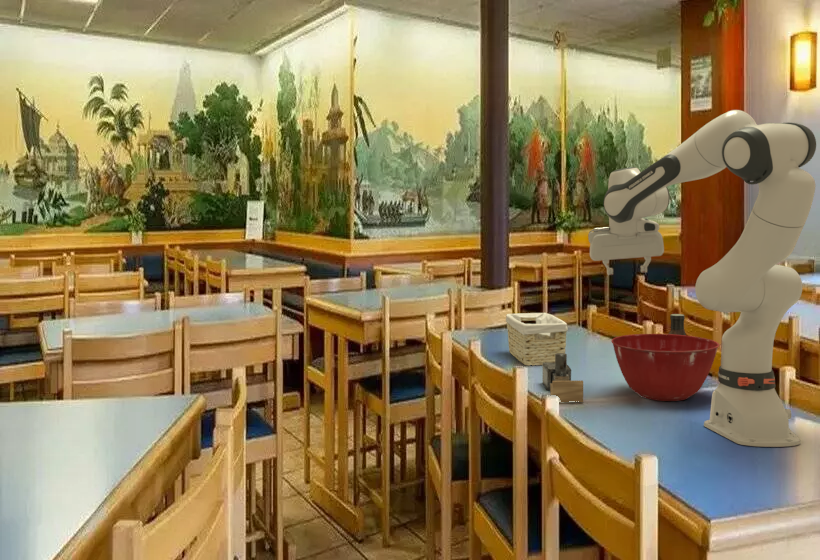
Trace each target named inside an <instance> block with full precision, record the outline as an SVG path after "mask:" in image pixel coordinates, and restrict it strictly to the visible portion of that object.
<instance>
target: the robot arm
mask: <svg viewBox="0 0 820 560" xmlns="http://www.w3.org/2000/svg"><path fill="white" fill-rule="evenodd" d="M816 150H817V139H816V137H815V134H814V132H813V131H812V129H810V128H809V127H807V126H806V125H803V124H800V123H797V122H796V123H795V122H776V123H772V122H771V123H770V122H768V123H762V124H761V123H760V124H757V123H756V120H755V119H754V118H753V117H752V116H751V114H749V113H747V112H746V111H744V110H741V109H731V110H728V111H727V112H725V113H723V114H720V115H719V116H717V117H715V118H713V119H711V121H709V122H707V123H705V125H703V126H702V127H700V128H699V129H698V130H697V131H696V132H694V133H693V134H692V135H691V136H689V137H688V138H687V139H686V140H684V141H683V142H682V143H681V144H679V145H678V146H677V147H675V148H674V149H672V150H671V151H670V152H668V153H667V154H665V155H664V156H663V157H661V158H660V159H658V160H657V161H655V162H653V163H651V165H649V166H648V167H646V168H645V169H644V170H642V171H640V169H639V168H638V167H635V166H629V167H624V168H617V169H616V170H613V171H612V172H610V174H609V178H608V184H607V185H608V186H607V188H608V189H607V191H606V193H605V194H604V196H603V197H604V198H603V210H604V212H605V213H606V215H607V217H608V224H609V225H608V226H603V227H594V228H593V229H591V230H589V232H588V236H587V237H588V238H587V239H588V242H589V257H590V259H591V260H592V261H594V262H596V261H598V262H599V261H602V264H603V265H604V266H605V268H606V274H607V276H613V275H614V268H613V267H609V265H608V264H609V263H610V260H624V259H637V258H638V259H639V258H644V260H645V261H644V262H643V264H641V265H640V273H648V267H649V264H650V263H651V261H652V257H661V256H663V254H664V253H665V246H664V238H663V235H662V233H661V232H660V231H659V230H660V224H659V223H658V222H656V221H654V220H652V219H647V217H652V216H658V215H660V214H662V213H664V212H665V211H666V210H667V209H668V207H669V206H670V199H671V196H670V191H669V189H668V187H669V186H670V187H671V186H673V185H677V184H682V183H685V182H692V181H693V182H694V181H697V180H701V179H706V178H709V177H711V176H714V175H715V174H718V173H719V172H721V171H723V170H725V169H726V168H727V169H728V170H729V171H730V172H731V173H732V174H734V175H735V176H737V177H739V178H741V179H742V180H743V181H744V182H745V184H748V185H758V189H759V190H758V194H757V197H756V199H755V202H754V204H753V207H752V210H751V212H750V214H749V216H748V220H747V221H746V224H745V226H744V229H742V230H743V231H742V233H741V235H740V237H739V238H738V240H737V241H736V243H735V244H734V245H733V246H732V248H730V250H729V251H728V252H727V253H725V255H724V256H723V257H722V258H721V259H720V260H718V262H717V263H715V264H714V265H712V266H710V267H708V268H706V269H705V270H703V271H702V272H701V273H700V274H699V276H698V277H697V279H696V281H695V282H696V283H695V285H694V286H695V288H694V290H695V296H696V298H697V301H698V302H699V304H700V305H701V306H702V308H704V309H706V310H708V311H713V312H714V311H715V312H721V313H738V312H740V315H739V317H738V319H737V320H736V322H735V323H734V324H733V325H732V326H731V327H729V328H727V329H726V331H724V333H723V334H722V337H721V350H720V351H721V352H720V353H721V354H720V356H721V357H720V366H719V367H718V371H717V376H718V379H717V381H718V383H719V384H718V386H717V387H716V388H715V390H713V391H712V395H711V401H710V402H711V403H710V412H709V419H707V420H704V422H703V426H704V427H705V428H707V429H709V430H711V431H712V432H715V433H717V434H718V435H720V436H722V437H724V438H726V439H728V440H730V441H731V442H734V443H735V444H738V445H742V446H749V447H759V448H760V447H762V448H763V447H766V448H767V447H768V448H770V447H771V448H776V447H777V448H779V447H784V448H785V447H794V446H798V445H800V444H801V439H800V438H799V437H798V436H797V435H796V434H795V432H794V431H793V430H792V429H791V428H790V427H789V426H790V425H789V423H790V421H789V420H791V418H792V410H791V408H785V406H784V404H783V400H782V399H780V397H779V395H778V393H777V391H776V389H775V388H776V379H775V373H774V370H773V369H772V368H773V366H772V365H773V353H774V343H775V342H774V340H775V337H776V332H777V330H778V328H779V325H780V323H781V321H782V320H783V317H784V316H785V315H786V313H787V311H789V310H790V309H791V308H792V307H793V306H794V305H795V304H796V303H798V301H799V300H800V298H801V296H802V292H803V282H802V278H801V276H800V275H799V273H798V272H797V270H795V268H793V267H790V266H786V265H780V264H779V263H781V262H782V261H783V262H784V261H785V260H786V259H787V258H788V257H790V256H791V254H792V253H793V252H794V249H795V247H796V245H797V242H798V240H799V238H800V236H801V233H802V232H803V229H804V227H805V224H806V221H807V219H808V217H809V214H810V212H811V209H812V205H813V201H814V196H815V192H816V186H817V185H816V180H815V178H814V177H813V176H812V174H810V173H809V172H808V171H806V170H804V169H803V168H801V167H803V166H805V165H807V164H808V163H809V162H810V161H811V159H813V157H814V155H815V153H816Z"/></svg>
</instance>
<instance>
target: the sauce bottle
mask: <svg viewBox="0 0 820 560" xmlns="http://www.w3.org/2000/svg"><path fill="white" fill-rule="evenodd" d="M669 316H670V319H669V320H670V331H669V332H668V333H667V334H673V335H685V336H687V334H686V331H685V315H684V314H681V313H672V314H670V315H669Z"/></svg>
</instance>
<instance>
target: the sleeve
mask: <svg viewBox="0 0 820 560" xmlns="http://www.w3.org/2000/svg"><path fill="white" fill-rule="evenodd" d="M551 372H555V362H543V365H542V385H543V384H544V385H543V386H544V388H545V387H546V388H545V390H546V391H547V390H550V383H551ZM567 374H568V376H569V381H572V369H571V367H570V366H569V365H568V364H567Z"/></svg>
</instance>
